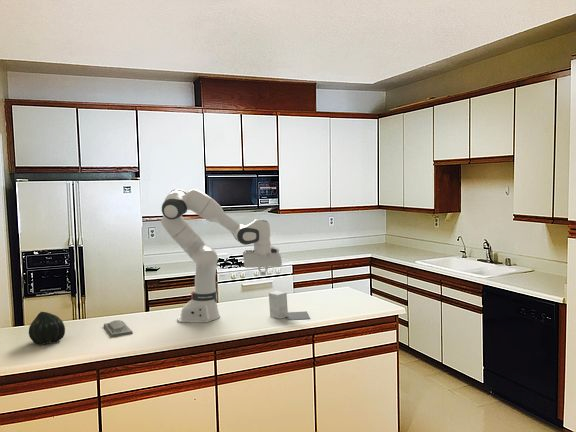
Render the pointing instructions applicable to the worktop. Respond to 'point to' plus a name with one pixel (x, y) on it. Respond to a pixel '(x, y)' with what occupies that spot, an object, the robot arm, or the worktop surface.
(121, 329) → the soap mold
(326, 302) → the worktop surface
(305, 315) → the mat
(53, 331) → the squash
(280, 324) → the worktop surface
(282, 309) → the small box
